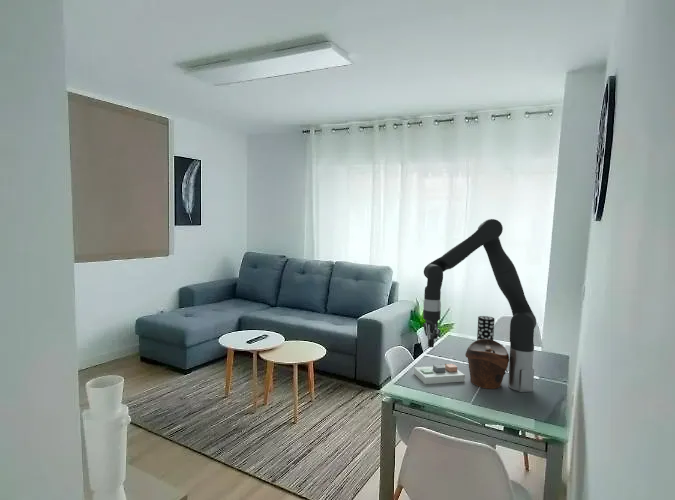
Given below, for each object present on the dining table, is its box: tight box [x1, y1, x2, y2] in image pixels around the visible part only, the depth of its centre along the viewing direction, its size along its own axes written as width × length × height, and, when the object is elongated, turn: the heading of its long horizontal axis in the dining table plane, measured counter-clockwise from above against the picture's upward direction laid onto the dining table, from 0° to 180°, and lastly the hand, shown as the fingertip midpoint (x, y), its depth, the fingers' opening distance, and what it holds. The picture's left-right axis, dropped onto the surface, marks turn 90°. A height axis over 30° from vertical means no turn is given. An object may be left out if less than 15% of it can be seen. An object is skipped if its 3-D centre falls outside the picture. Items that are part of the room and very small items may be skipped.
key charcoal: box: [432, 364, 445, 372], centre depth 178 cm, size 4×4×2 cm
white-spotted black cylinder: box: [476, 315, 495, 341], centre depth 213 cm, size 8×8×20 cm
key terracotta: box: [444, 363, 458, 372], centre depth 180 cm, size 4×4×2 cm
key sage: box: [421, 369, 433, 374], centre depth 177 cm, size 4×4×2 cm
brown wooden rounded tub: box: [465, 339, 510, 390], centre depth 173 cm, size 18×20×18 cm
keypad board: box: [413, 365, 466, 385], centre depth 179 cm, size 12×19×3 cm, turn 103°
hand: (430, 346), depth 176 cm, fingers closed
